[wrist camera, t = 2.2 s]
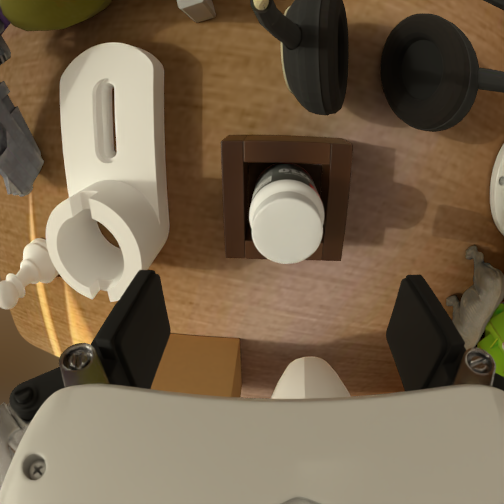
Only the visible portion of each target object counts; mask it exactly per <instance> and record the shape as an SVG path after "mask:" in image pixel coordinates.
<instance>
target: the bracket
mask: <svg viewBox="0 0 504 504" xmlns="http://www.w3.org/2000/svg"><path fill="white" fill-rule="evenodd" d="M113 87H114V100H115V130H116V147H117V153H116V152H115V150H114V136H113V115H112V88H113ZM60 116H61V132H62V145H63V155H64V164H65V172H66V180H67V187H68V193H69V198H68V199H66V200H65V201H63V202H61V203H60V204H59V205H58V206H56V208H55V209H54V210H53V211H52V213H51V215H50V217H49V219H48V222H47V226H46V244H47V249H48V253H49V256H50V258H51V261H52V263H53V265H54V267H55V268H56V270H57V271H58V273H59V274H60V276H61V277H62V278H63V279H64V280H65V282H66V283H67V284H68V285H70V286H71V287H72V288H73V289H74V290H76V291H77V292H79V293H80V294H82V295H84V296H86V297H88V298H90V299H93V298H94V297H95V296H96V294H97V293H98V292H99V290H104V291H108V295H109V299H110V302H113V301H118V300H120V298H121V296H122V295H123V293H124V292H125V290H126V289H127V287H128V286H129V284H130V283H131V281H132V280H133V278H134V277H135V275H136V274H137V272H138V271H139V270H148V268H149V267H150V265H151V264H152V262H153V261H154V259H155V258H156V256H157V255H158V253H159V252H160V250H161V249H162V247H163V246H164V244H165V242H166V240H167V238H168V234H169V227H170V224H169V211H168V197H167V181H166V162H165V134H164V68H163V65H162V64H161V62H160V61H159V60H158V59H157V58H156V57H155V56H153V55H152V54H151V53H149V52H147V51H145V50H143V49H141V48H138V47H134V46H131V45H128V44H124V43H116V42H111V43H103V44H99V45H96V46H94V47H91V48H89V49H87V50H86V51H84V52H83V53H81V54H80V55H79V56H77V57H76V58H75V59H74V60H73V61H72V62H71V63H70V64H69V66H68V67H67V68H66V70H65V71H64V73H63V74H62V76H61V79H60ZM97 221H98V222H100V223H101V224H103V225H104V226H105V227H106V228H107V229H108V230H109V231H110V232H111V233H112V234H113V236H114V237H115V238H116V240H117V242H118V244H119V246H120V248H121V249H120V248H117V247H115V246H114V245H112V244H111V243H110V242H108V241H107V240H106V238H105V237H104V236H103V235H102V233H101V231H100V229H99V227H98V224H97Z"/></svg>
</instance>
